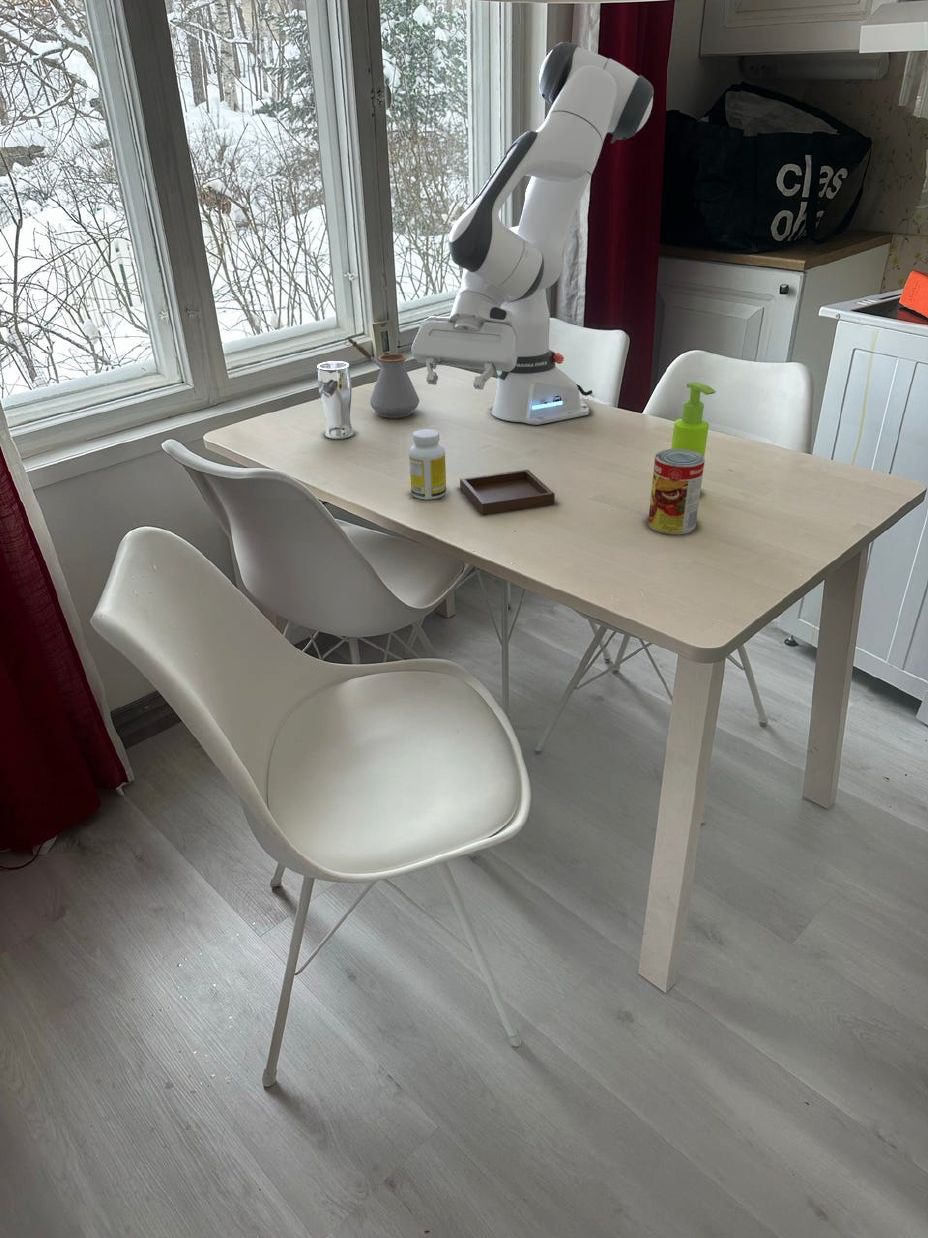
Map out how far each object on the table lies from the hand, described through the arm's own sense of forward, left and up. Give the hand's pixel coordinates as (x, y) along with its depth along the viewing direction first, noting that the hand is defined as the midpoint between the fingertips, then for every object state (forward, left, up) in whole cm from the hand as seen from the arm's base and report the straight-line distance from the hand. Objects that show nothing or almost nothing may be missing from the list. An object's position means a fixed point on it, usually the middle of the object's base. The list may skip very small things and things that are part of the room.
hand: (454, 385), depth 159 cm
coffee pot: (+4, -45, -17) cm, 48 cm away
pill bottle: (+8, +9, -17) cm, 21 cm away
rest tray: (-5, +15, -17) cm, 23 cm away
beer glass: (+17, -30, -17) cm, 39 cm away
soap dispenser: (-36, +25, -17) cm, 47 cm away
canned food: (-27, +36, -17) cm, 48 cm away
